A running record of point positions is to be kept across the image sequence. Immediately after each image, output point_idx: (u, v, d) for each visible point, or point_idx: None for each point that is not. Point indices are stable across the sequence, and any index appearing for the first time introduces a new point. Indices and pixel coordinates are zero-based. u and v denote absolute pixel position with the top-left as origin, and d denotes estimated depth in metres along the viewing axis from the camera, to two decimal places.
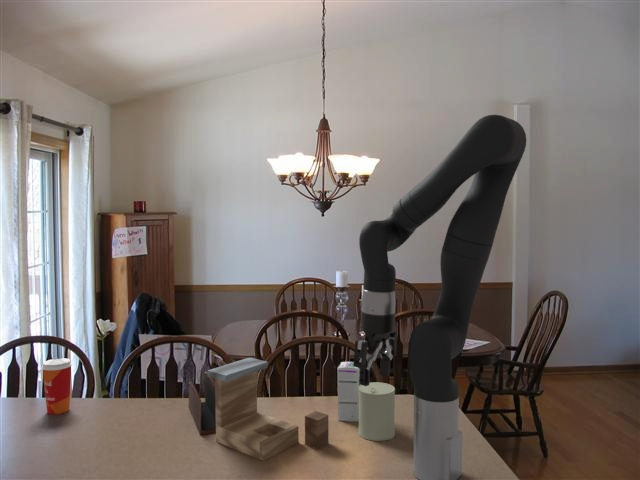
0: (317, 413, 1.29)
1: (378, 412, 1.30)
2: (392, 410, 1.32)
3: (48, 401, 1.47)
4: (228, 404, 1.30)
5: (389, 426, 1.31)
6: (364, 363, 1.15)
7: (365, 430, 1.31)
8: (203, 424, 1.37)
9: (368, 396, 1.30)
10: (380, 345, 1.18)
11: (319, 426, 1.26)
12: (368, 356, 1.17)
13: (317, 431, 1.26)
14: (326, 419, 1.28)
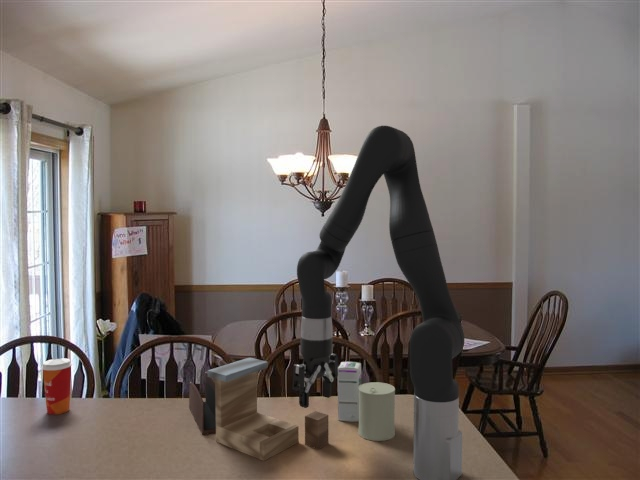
0: (317, 413, 1.29)
1: (378, 412, 1.30)
2: (392, 410, 1.32)
3: (48, 401, 1.47)
4: (228, 404, 1.30)
5: (389, 426, 1.31)
6: (302, 386, 1.22)
7: (365, 430, 1.31)
8: (205, 424, 1.38)
9: (369, 396, 1.30)
10: (318, 368, 1.25)
11: (319, 426, 1.26)
12: (307, 379, 1.24)
13: (317, 431, 1.26)
14: (326, 419, 1.28)
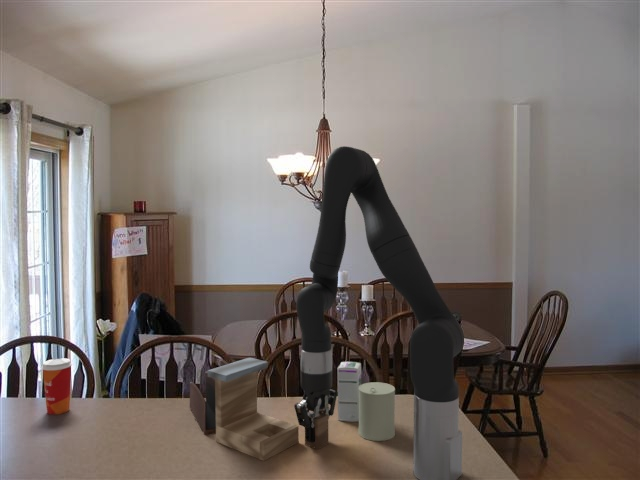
0: None
1: (378, 412, 1.30)
2: (392, 410, 1.32)
3: (48, 401, 1.47)
4: (228, 404, 1.30)
5: (389, 426, 1.31)
6: (308, 422, 1.24)
7: (365, 430, 1.31)
8: (207, 423, 1.38)
9: (369, 396, 1.30)
10: (319, 402, 1.25)
11: (319, 426, 1.26)
12: (310, 415, 1.25)
13: (317, 431, 1.26)
14: (326, 419, 1.28)
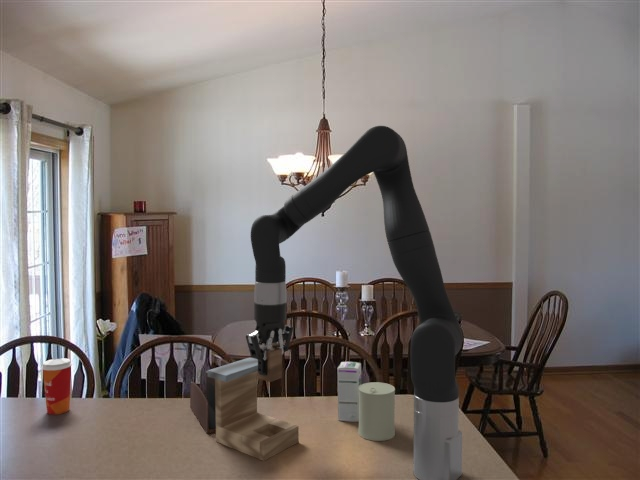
0: (271, 347, 1.27)
1: (378, 412, 1.30)
2: (392, 410, 1.32)
3: (48, 401, 1.47)
4: (228, 404, 1.30)
5: (389, 426, 1.31)
6: (260, 353, 1.22)
7: (365, 430, 1.31)
8: (209, 423, 1.38)
9: (369, 396, 1.30)
10: (272, 334, 1.24)
11: (271, 358, 1.24)
12: (263, 347, 1.24)
13: (269, 363, 1.24)
14: (279, 352, 1.26)
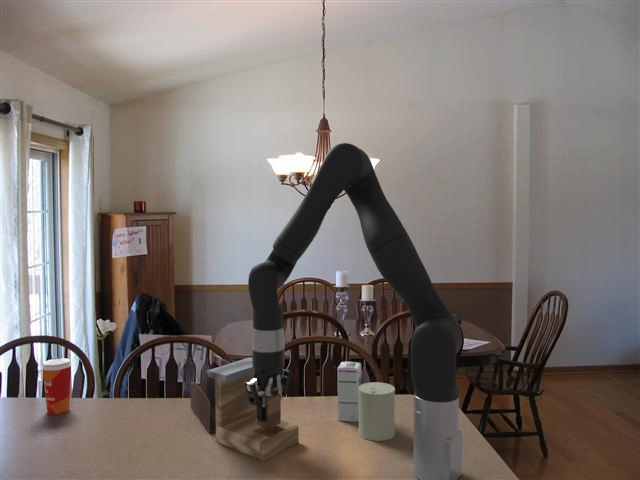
0: None
1: (378, 412, 1.30)
2: (392, 410, 1.32)
3: (48, 401, 1.47)
4: (228, 404, 1.30)
5: (389, 426, 1.31)
6: (258, 401, 1.22)
7: (365, 430, 1.31)
8: (210, 423, 1.38)
9: (369, 396, 1.30)
10: (270, 381, 1.24)
11: (270, 405, 1.24)
12: (261, 394, 1.24)
13: (268, 410, 1.24)
14: (278, 398, 1.26)
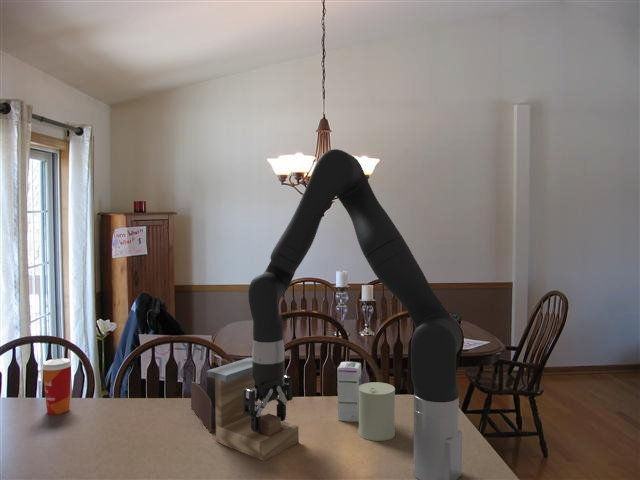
0: (269, 415, 1.28)
1: (378, 412, 1.30)
2: (392, 410, 1.32)
3: (48, 401, 1.47)
4: (228, 404, 1.30)
5: (389, 426, 1.31)
6: (252, 411, 1.21)
7: (365, 430, 1.31)
8: None
9: (369, 396, 1.30)
10: (270, 392, 1.24)
11: (270, 429, 1.24)
12: (258, 403, 1.23)
13: (268, 434, 1.24)
14: (278, 421, 1.26)
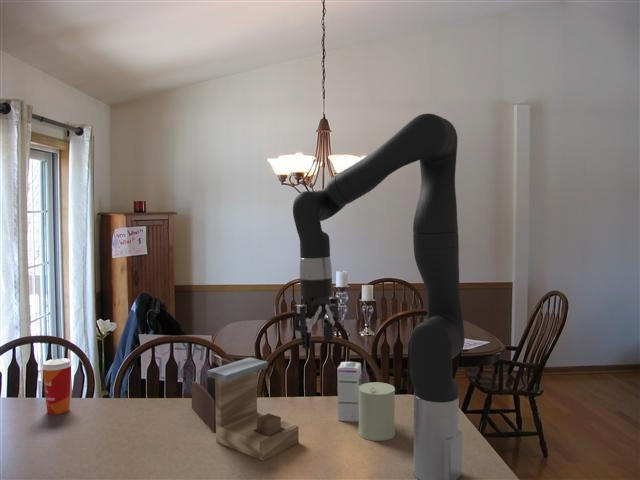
0: (269, 415, 1.28)
1: (378, 412, 1.30)
2: (392, 410, 1.32)
3: (48, 401, 1.47)
4: (228, 404, 1.30)
5: (389, 426, 1.31)
6: (304, 326, 1.21)
7: (365, 430, 1.31)
8: (214, 422, 1.39)
9: (369, 396, 1.30)
10: (319, 309, 1.24)
11: (270, 429, 1.24)
12: (308, 320, 1.23)
13: (268, 434, 1.24)
14: (278, 421, 1.26)
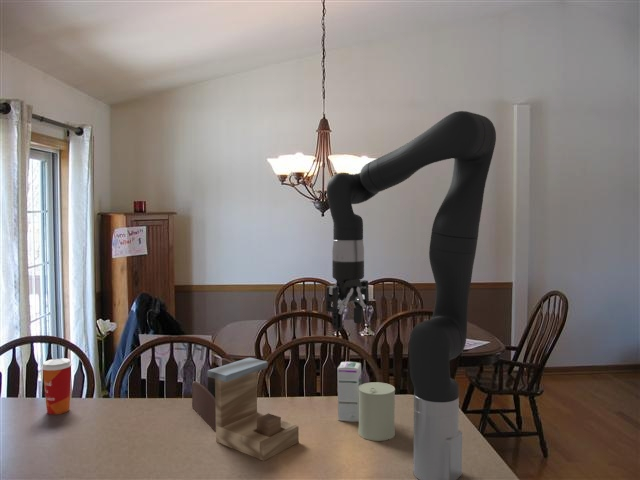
0: (269, 415, 1.28)
1: (378, 412, 1.30)
2: (392, 410, 1.32)
3: (48, 401, 1.47)
4: (228, 404, 1.30)
5: (389, 426, 1.31)
6: (336, 307, 1.22)
7: (365, 430, 1.31)
8: None
9: (369, 396, 1.30)
10: (351, 291, 1.25)
11: (270, 429, 1.24)
12: (340, 301, 1.24)
13: (268, 434, 1.24)
14: (278, 421, 1.26)
